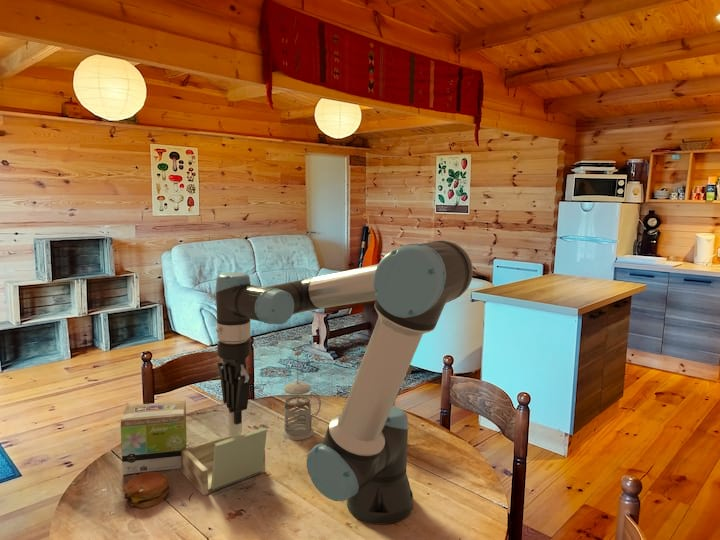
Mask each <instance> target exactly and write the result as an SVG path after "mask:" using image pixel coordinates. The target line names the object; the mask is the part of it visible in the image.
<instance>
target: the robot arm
mask: <svg viewBox="0 0 720 540" xmlns="http://www.w3.org/2000/svg"><path fill="white" fill-rule="evenodd" d="M472 263H473V262H472V259H471V257H470V256H469V253H467V251H466V250H465V249H464V248H463V247H461V246H460V245H459V244H457V243H455V242H452V241H449V240H448V241H447V240H434V241H429V242H425V243H424V242H423V243H409V244H405V245H402V246H400V247H398V248H395V249H393V250H391V251H389V252H388V253H387V254H386V255H384V256H383V257H382V259H381V260H380V261H379V263H377V264H373V265H372V264H371V265H368V266H367V265H365V266H362V267H357V268H353V269H347V270H343V271H339V272H334V273H329V274H323V275H319V276H315V277H308V278H304V279H303V278H302V279H300V280H294V281H289V282H285V283H280V284H275V285H270V286H269V285H268V286H259V285H254V284H252V283H251V278H250V275H249V274H248V273H246V272H225V273H221V274H219V275H218V276H217V277H216V283H215V284H216V286H215V287H216V288H215V292H214V293H215V303H216V325H217V326H216V328H215V332H217V333H216V335H217V339H218V341H216V345H217V346H216V348H217V357H218V358H220V359H222V361H218V362H217V367H218V371H219V377H220V378H219V379H220V385H221V386H220V387H221V394H222V401H223V403H224V404H226V408H227V410H228V418H227V419H228V435H229V436H230V437H235V436H238V435H241V434H242V433H243V411H246V410H247V409H248V404H249V395H250V390H251V389H250V388H251V387H250V386H251V382H252V379H253V375H252V373H248V371H247V364H246V359H247V357H249V356H251V320H253V321H258V322H262V323H265V324H268V325H283V324H285V323H287V322H288V321H289V320H290V319H292V316H293V315H296V314H301V313H304V312H310V311H315V310H321V309H326V308H332V307H338V306H340V307H341V306H344V305H353V304H358V303H365V302H372V301H373V302H374V301H375V302H374V305H373V306H374V309H375V311H376V313H377V315H378V317H377V320H376V323H375V324H374V325H375V326H374V328H373V331H372V334H371V336H370V338H369V340H368V344H367V346H366V348H365V352H364V354H363V357H362V360H361V361H360V364H359V367H358V370H357V372H356V375H355V378H354V380H353V383H352V384H351V388H350V390H349V393H348V396H347V399H346V401H345V404H344V407H343V409H342V411H341V413H340V414H338V415H336V416H335V415H334V417H333V418H332V419H331V420H330V422H329V424H328V426H327V429H326V432H325V435H324V438H323V439H322V441H321V442H320V443H318V444H315V445H314V446H313V447H312V448H311V450H310V451H309V452H308V454H307V457H306V469H307V473H308V475H309V478H310V480H311V483H312V484H313V486H314V487H315V489H316V490H317V491H319V493H320V494H321V495H322V496H324V497H325V498H326V499H329V500H331V501H334V502H345V501H346V507H347V509H348V511H349V512H350V514H351V515H352V516H353V517H355V518H357V519H358V520H360V521H363V522H365V523H369V524H374V525H391V524H395V523H398V522H401V521H403V520H405V519H406V518H408V516H409V515H410V514H411V513H412V511H413V509H414V494H413V491H412V489H411V484H410V481H409V479H408V478H409V477H408V474H407V463H408V459H407V458H408V440H409V439H408V438H409V436H408V435H409V425H408V422H409V421H408V414H407V413H406V412H405V411H404V410H403V409H402V408H400V407H398V406H396V405H395V404H394V401H395V402H396V400H395V399H397V398H398V396H397V394H398V392H399V390H400V388H401V387H402V385H403V383H404V380H405V379H406V378H405V377H406V375H407V373H408V370H409V368H410V366H411V363H412V361H413V359H414V356H415V353H416V351H417V349H418V347H419V344H420V342H421V340H422V337H423V335H424V334H426V333H430V332H433V331H434V330H435V328H436V326H437V324H438V322H439V320H440V318H441V315H442V312H443V310H444V307H445V305H446V304H448V303H449V302H451V301H452V302H453V301H454V300H457V299H458V298H460V297H461V296H462V295H463V294H464V293H465V292H466V291H467V290H468V288H469V287H470V285H471V283H472V280H473V275H474V269H473V264H472ZM398 395H399V394H398ZM396 397H397V398H396ZM393 404H394V406H393Z"/></svg>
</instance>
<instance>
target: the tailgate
mask: <svg viewBox="0 0 720 540" xmlns="http://www.w3.org/2000/svg"><path fill="white" fill-rule="evenodd" d="M267 434H268V428H266V427H262V428H260V429H256V430H253V431H250V432H247V433H244V434H243V435H240V436H237V437H234V438H230V439H227V440H224V441H221V442H218V443H215V445H214V458H213V470H212V483H211V488H210V490H211V492H210V493H212V492H215V491H218V490H220V489H223V488H226V487H228V486H230V485H233V484H236V483H239V482H241V481H244V480H246V479H249V478H251V477H254V476H256V475H259V474H262V473H261V471H262V469H263V460H264V451H265V452H266V441H267Z"/></svg>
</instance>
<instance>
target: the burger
mask: <svg viewBox="0 0 720 540" xmlns="http://www.w3.org/2000/svg"><path fill="white" fill-rule="evenodd" d="M170 491H171V485H170V481H169V478H168V477H167V476H166V475H165V474H163V473H160V472H156V471H150V472H140V473H139V474H137V475H135V476H133V478H131V479H130V480H128V481H127V482H126V484H125V485H124V487H123V492H124V497H123V498H124V499H125V500H127V501H126V504H129V505H130V506H131V507H137V508H138V509H147V508H148V509H149V508H153V507H154V506H155V507H156V506H158V505H159V504H161V503H162V502H163V501H164V500H165V499H166V498H165V497H166V496H168V494H169V493H170Z"/></svg>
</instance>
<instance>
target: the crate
mask: <svg viewBox="0 0 720 540" xmlns="http://www.w3.org/2000/svg"><path fill="white" fill-rule="evenodd" d="M243 434H245V433H244V432H242V434H241V435H243ZM238 436H240V435H238ZM235 437H237V436H235ZM230 438H234V437H230V436H229V434H227V435H223V436H220V437H217V438H214V439H213V438H212V439H210V440H207V441H204V442H201V443H198V444H194V445H191V446H188V447H186V448H185V449H181V466H182V468H181V473H182V474H183V475H184V476H185V477H186V478H187V479H188V480H189V482H191V484H192V485H193V486H194V487H195V488H196V489H197V490H198V491H199V492H200V493H201V494H202V495H203V496H205V495H207V494H209V493H212V492H211V490H210V488H211V483H212V470H213V458H214V445H215V443H218V442H221V441H224V440H227V439H230ZM265 472H266V450H265V451H264V460H263V469H262V471H261V473H260V474H262V473H263V474H264V473H265Z"/></svg>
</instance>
